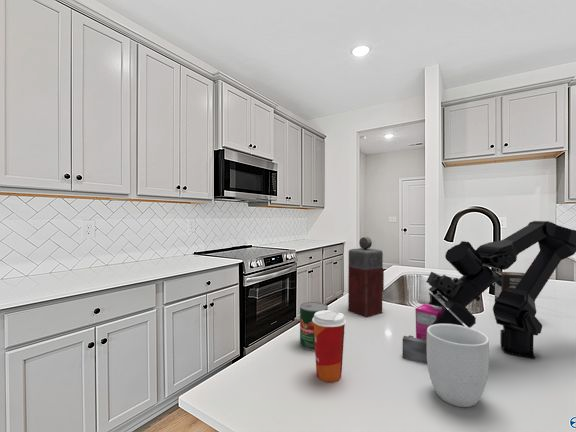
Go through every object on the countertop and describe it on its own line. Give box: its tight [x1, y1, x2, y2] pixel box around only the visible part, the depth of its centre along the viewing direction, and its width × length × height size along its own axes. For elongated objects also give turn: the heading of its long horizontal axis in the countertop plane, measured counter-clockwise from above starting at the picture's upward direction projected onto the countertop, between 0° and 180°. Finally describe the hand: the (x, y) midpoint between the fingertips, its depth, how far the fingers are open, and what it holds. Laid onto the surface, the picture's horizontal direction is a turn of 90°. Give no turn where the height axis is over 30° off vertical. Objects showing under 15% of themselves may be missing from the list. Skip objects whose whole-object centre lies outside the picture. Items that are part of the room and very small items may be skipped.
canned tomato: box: [299, 301, 329, 352], centre depth 85 cm, size 8×8×11 cm
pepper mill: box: [347, 236, 385, 319], centre depth 114 cm, size 9×11×28 cm
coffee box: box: [494, 271, 526, 303], centre depth 106 cm, size 9×6×16 cm
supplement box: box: [414, 303, 442, 340], centre depth 80 cm, size 6×6×12 cm
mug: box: [426, 324, 490, 408], centre depth 63 cm, size 15×11×13 cm
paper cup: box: [312, 309, 347, 383], centre depth 69 cm, size 8×8×14 cm
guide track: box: [401, 335, 427, 364], centre depth 79 cm, size 12×10×5 cm
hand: (425, 325), depth 80 cm, fingers closed on supplement box, 8 cm apart
